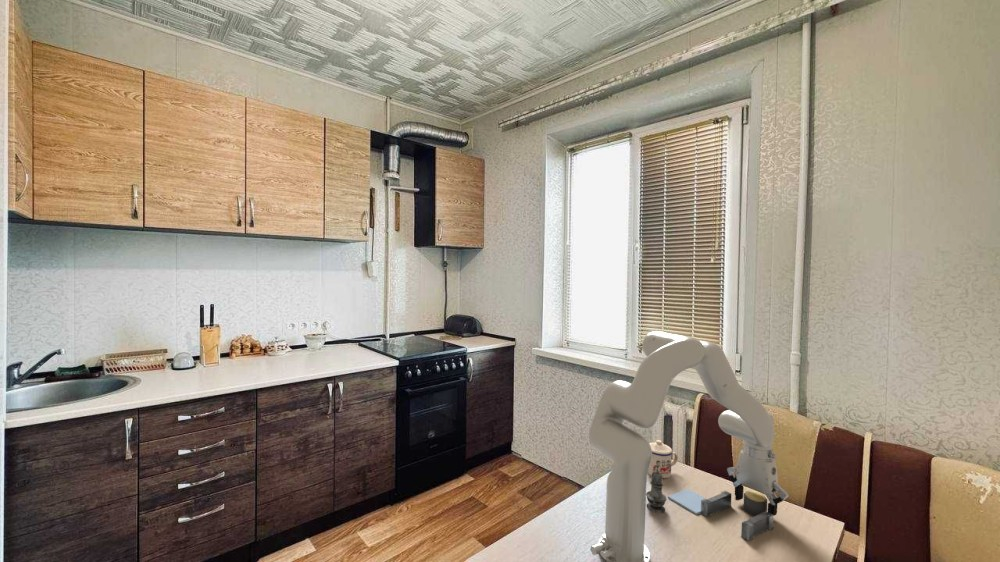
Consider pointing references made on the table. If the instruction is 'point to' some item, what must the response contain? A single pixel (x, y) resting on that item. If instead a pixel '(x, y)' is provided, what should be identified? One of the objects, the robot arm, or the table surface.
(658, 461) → the teacup with lid
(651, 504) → the dark grey turned post
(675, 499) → the mat
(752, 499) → the grey and yellow cylinder
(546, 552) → the table surface
